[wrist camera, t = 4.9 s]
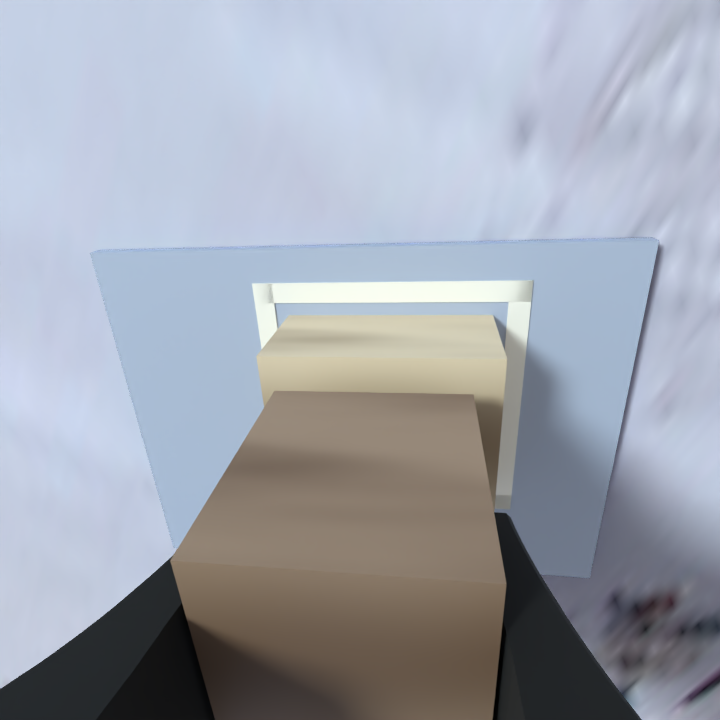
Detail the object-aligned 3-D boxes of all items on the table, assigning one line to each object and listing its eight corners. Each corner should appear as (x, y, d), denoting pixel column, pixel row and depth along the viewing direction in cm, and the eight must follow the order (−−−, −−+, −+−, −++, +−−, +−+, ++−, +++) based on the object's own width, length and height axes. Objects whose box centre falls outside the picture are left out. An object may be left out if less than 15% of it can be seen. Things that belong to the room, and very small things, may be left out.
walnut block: (465, 549, 12) (486, 783, 8) (294, 538, 13) (223, 750, 9) (473, 394, 11) (506, 584, 6) (274, 391, 11) (169, 560, 7)
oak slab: (481, 483, 16) (490, 552, 14) (307, 475, 17) (284, 539, 14) (492, 314, 14) (507, 359, 11) (288, 315, 15) (256, 356, 12)
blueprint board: (586, 569, 18) (590, 579, 17) (178, 540, 20) (173, 548, 20) (652, 237, 13) (660, 240, 12) (98, 250, 15) (88, 253, 15)
